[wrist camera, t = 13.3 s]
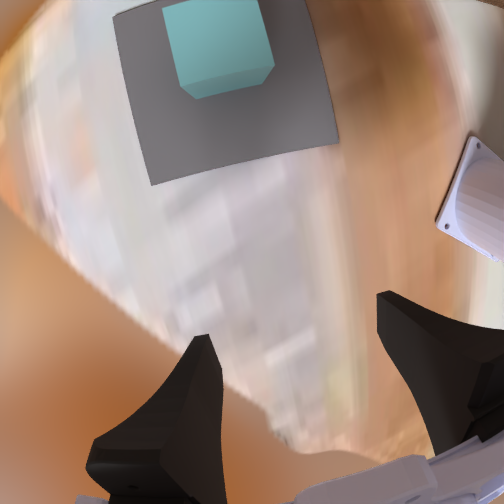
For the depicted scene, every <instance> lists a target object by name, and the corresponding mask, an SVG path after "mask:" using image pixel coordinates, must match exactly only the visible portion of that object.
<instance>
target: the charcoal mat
mask: <svg viewBox="0 0 504 504" xmlns="http://www.w3.org/2000/svg"><path fill="white" fill-rule="evenodd" d="M185 1H189V0H159V1H155V2H152V3H149V4H146V5H143V6H140V7H138V8H135V9H132V10H129V11H127V12H124V13H121V14H119V15H116V16H114V17H112V18H113V23H114V29H115V35H116V40H117V45H118V51H119V56H120V61H121V66H122V70H123V75H124V80H125V84H126V89H127V93H128V98H129V102H130V106H131V110H132V115H133V119H134V123H135V127H136V131H137V135H138V138H139V142H140V146H141V150H142V154H143V157H144V161H145V165H146V168H147V172H148V175H149V179H150V182H151V186H153V185H157V184H160V183H164V182H167V181H171V180H174V179H178V178H181V177H185V176H189V175H193V174H196V173H200V172H204V171H208V170H212V169H216V168H220V167H224V166H228V165H232V164H237V163H241V162H245V161H250V160H254V159H259V158H263V157H268V156H273V155H278V154H282V153H287V152H292V151H298V150H303V149H308V148H314V147H319V146H325V145H331V144H337V143H339V139H338V133H337V128H336V123H335V118H334V113H333V108H332V103H331V98H330V94H329V89H328V85H327V80H326V76H325V72H324V68H323V64H322V60H321V56H320V52H319V48H318V44H317V41H316V37H315V33H314V30H313V26H312V23H311V19H310V16H309V12H308V9H307V6H306V3H305V0H257V2H258V5H259V8H260V12H261V15H262V19H263V22H264V26H265V30H266V33H267V37H268V40H269V44H270V48H271V52H272V55H273V59H274V63H275V66H274V67H273V68H272V70H271V71H270V73H269V74H268V76H267V77H266V79H265V80H264V82H263V83H262V84H260V85H255V86H250V87H245V88H240V89H236V90H231V91H227V92H223V93H219V94H215V95H211V96H207V97H203V98H199V99H195V98H194V97H193V96H191V95H190V94H189V93H188V92H186V91H185V90H184V89H183V88H181V87H180V83H179V79H178V75H177V71H176V67H175V62H174V58H173V54H172V50H171V46H170V41H169V37H168V33H167V28H166V24H165V20H164V15H163V11H162V8H164V7H168V6H171V5H175V4H178V3H182V2H185Z"/></svg>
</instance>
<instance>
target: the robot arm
mask: <svg viewBox="0 0 504 504" xmlns="http://www.w3.org/2000/svg"><path fill="white" fill-rule="evenodd" d="M477 144H478V147H476V145H477ZM446 223H447V226H446V227H445V224H446ZM436 227H437V228H438V229H440V230H441V231H443V232H445V233H447V234H449V235H451V236H452V237H454V238H456V239H458V240H460V241H461V242H463V243H465V244H467V245H468V246H470V247H472V248H473V249H475V250H477V251H479V252H480V253H482V254H484V255H485V256H487V257H489V258H490V259H492V260H493V261H495V262H498V261H499V260H501V261H502V262H504V161H503V160H502V159H501V158H499V157H498V156H497V155H496V154H495V153H494V152H493V151H492V150H491V149H489V148H488V147H487V146H486V145H485V144H484V143H482V142H481V141H480V140H479V139H478V138H477V137H475V136H470V137H469V139H468V141H467V144H466V147H465V150H464V153H463V156H462V158H461V161H460V164H459V167H458V169H457V172H456V175H455V177H454V180H453V182H452V185H451V187H450V190H449V192H448V195H447V197H446V200H445V202H444V204H443V207H442V209H441V211H440V214H439V216H438V218H437V220H436ZM377 333H378V335H379V337H380V339H381V342H382V344H383V346H384V348H385V350H386V352H387V353H388V355H389V356H390V358H391V359H392V361H393V363H394V364H395V366H396V367H397V369H398V371H399V372H400V374H401V375H402V377H403V378H404V380H405V382H406V383H407V385H408V387H409V388H410V390H411V392H412V394H413V396H414V399H415V401H416V403H417V405H418V408H419V410H420V412H421V415H422V417H423V420H424V423H425V425H426V428H427V431H428V434H429V437H430V439H431V442H432V446H433V449H434V453H435V457H433V458H431V459H428V460H426V457H425V456H422V455H409V456H406V457H402V458H398V459H396V460H393V461H390V462H388V463H385V464H382V465H379V466H376V467H373V468H370V469H367V470H364V471H361V472H357V473H354V474H351V475H347V476H343V477H340V478H336V479H332V480H329V481H325V482H322V483H319V484H316V485H312V486H310V487H308V488H306V489H304V490H303V491H301V492H299V493H298V494H297V495H296V497H295V500H294V501H292V502H286V503H281V504H488V503H489V502H491V501H492V500H494V499H495V498H496V497H498V496H499V495H501V494H502V493H503V492H504V330H501V329H492V328H485V327H480V326H475V325H471V324H467V323H463V322H460V321H457V320H454V319H451V318H448V317H445V316H443V315H440V314H438V313H435V312H433V311H431V310H429V309H426V308H424V307H422V306H420V305H418V304H416V303H414V302H412V301H410V300H408V299H406V298H404V297H402V296H400V295H399V294H396V293H394V292H392V291H390V290H388V291H385V292H381V293H378V294H377ZM222 405H223V375H222V368H221V365H220V363H219V360H218V357H217V355H216V352H215V350H214V347H213V344H212V342H211V339H210V336H209V334H205V335H199V336H195V337H194V338H193V340H192V341H191V343H190V344H189V346H188V348H187V349H186V351H185V353H184V354H183V356H182V357H181V359H180V360H179V362H178V363H177V365H176V366H175V368H174V370H173V371H172V372H171V374H170V375H169V376H168V378H167V379H166V381H165V382H164V383H163V384H162V386H161V387H160V388H159V389H158V390H157V392H155V394H154V395H153V396H152V397H151V398H150V399H149V400H148V401H147V402H146V403H145V404H144V405H143V406H141V407H140V408H139V409H138V410H137V411H136V412H135V413H134V414H132V415H131V416H130V417H129V418H127V419H126V420H125V421H123V422H122V423H120V424H119V425H118V426H116V427H115V428H113V429H112V430H110V431H108V432H107V433H105V434H103V435H101V436H100V437H98V438H96V439H94V441H93V445H92V447H91V451H90V453H89V457H88V460H87V463H86V471H87V473H88V474H89V476H90V477H91V478H92V479H93V480H94V481H95V482H96V483H98V484H99V485H100V486H101V487H102V488H104V489H105V490H106V491H107V492H108V493H110V499H109V501H107V500H105V499H103V498H98V497H91V496H85V495H77V498H76V502H75V504H227V498H226V491H225V483H224V475H223V464H222V451H221V421H222Z"/></svg>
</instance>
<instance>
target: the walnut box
mask: <svg viewBox="0 0 504 504" xmlns="http://www.w3.org/2000/svg"><path fill="white" fill-rule="evenodd" d="M478 1H481V2H485V3H488V4H491V5H495V6H498V7H501V8H504V0H478Z"/></svg>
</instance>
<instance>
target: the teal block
mask: <svg viewBox="0 0 504 504" xmlns="http://www.w3.org/2000/svg"><path fill="white" fill-rule="evenodd" d="M162 11H163V15H164V20H165V24H166V28H167V33H168V37H169V41H170V46H171V50H172V54H173V58H174V62H175V67H176V71H177V75H178V79H179V83H180V87H181V88H183V89H184V90H185V91H186V92H188V93H189V94H190V95H191V96H193V97H194V98H195V99H199V98H203V97H207V96H211V95H215V94H219V93H223V92H227V91H231V90H236V89H240V88H245V87H250V86H255V85H260V84H262V83H263V82H264V80H265V79H266V77H267V76H268V74H269V73H270V71H271V70H272V68H273V67H274V66H275V63H274V59H273V55H272V52H271V48H270V44H269V40H268V37H267V33H266V30H265V26H264V22H263V19H262V15H261V12H260V8H259V5H258V2H257V0H189V1H185V2H182V3H178V4H175V5H171V6H168V7H164V8H162Z"/></svg>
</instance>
